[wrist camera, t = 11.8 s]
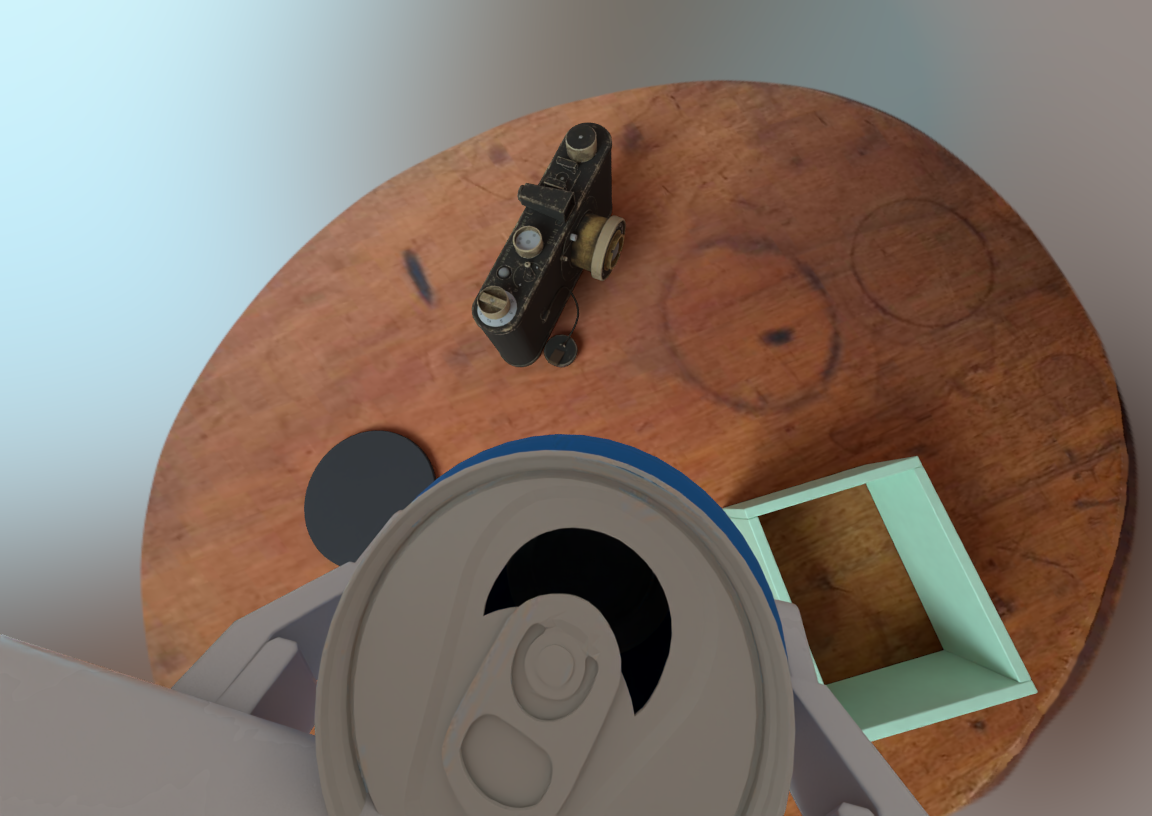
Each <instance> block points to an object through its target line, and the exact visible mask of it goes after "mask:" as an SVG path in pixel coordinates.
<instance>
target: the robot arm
mask: <svg viewBox="0 0 1152 816" xmlns="http://www.w3.org/2000/svg"><path fill="white" fill-rule="evenodd" d="M402 511H403V510H399V511H398V512H396V513H395V514H393V516H392V517H391V518H390V519H389V521H388V522H387V523H386V524H385V526H384V527H383V528H382V529H381V531H380V532H379V533H378V534H377V536H376V537H375V538H374V539H373V541H372V542H371V543H370V545H369V546H368V547H367V548H366V550H365V551H364V552H363V553H362V555H361V556H360V557H359V558H358V560H357V561H356V562H355V563H354V562H347V563H345V564H344V565H342V566H340V567H338V568H336V569H334V570H332V571H330V572H328V573H326V574H324V575H323V576H321V577H319V578H317V579H315V580H313V581H311V582H309V583H307V584H305V585H303V586H301V587H300V588H298V589H296V590H294V591H292V592H290V593H288V594H286V595H284V596H282V597H280V598H279V599H277V600H275V601H273V602H271V603H269V604H267V605H265V606H263V607H261V608H259V609H257V610H256V611H254V612H252V613H250V614H248V615H246V616H244V617H242V618H240V619H238V620H236V621H235V622H234V623H233V624H232V625H231V626H230V627H229V628H228V629H227V630H226V631H225V632H224V633H223V634H222V635H221V636H220V637H219V638H218V639H217V640H216V642H215V643H214V644H213V645H212V646H211V647H210V648H209V649H208V650H207V651H206V652H205V653H204V654H203V655H202V656H201V657H200V658H199V659H198V660H197V661H196V663H195V664H194V665H193V666H192V667H191V668H190V669H189V670H188V671H187V672H186V673H185V674H184V675H183V676H182V677H181V678H180V679H179V680H178V681H177V682H176V684H175V685H174V686H173V687H172V688H171V689H170V688H166V687H163V686H160V685H157V684H154V683H151V682H147V681H145V680H141V679H138V678H135V677H132V676H129V675H126V674H123V673H120V672H116V671H113V670H111V669H107V668H104V667H101V666H98V665H95V664H92V663H89V662H86V661H83V660H79V659H76V658H73V657H70V656H67V655H64V654H61V653H57V652H55V651H52V650H48V649H45V648H42V647H39V646H36V645H33V644H30V643H27V642H23V641H20V640H17V639H14V638H11V637H8V636H5V635H2V634H0V816H329V815H328V812H327V808H326V805H325V801H324V798H323V794H322V789H321V783H320V777H319V771H318V765H317V759H316V743H315V735H312V734H309V733H310V731H311V730H312V728H313V727H314V725H315V723H314V720H315V703H316V687H317V681H316V680H318V675H319V669H320V663H321V657H322V652H323V649H324V645H325V642H326V638H327V635H328V631H329V628H330V624H331V621H332V618H333V616H334V614H335V611H336V609H337V606H338V604H339V601H340V599H341V596H342V594H343V591H344V590H345V588H346V586H347V584H348V582H349V580H350V579H351V577H352V575H353V573H354V571H355V569H356V568H357V566H358V564H359V562H360V561H361V560H362V558H363V557H364V555H365V554H366V552H367V551H368V550H369V548H370V547H371V545H372V544H373V542H374V541H375V540H376V538H377V537H378V536H379V535H380V534H381V533H382V532H383V530H384V529H385V528H386V527H387V526H388V525H389V524H390V523H391V521H392V520H393V519H394V518H395V517H396V516H397V515H398V514H399V513H400V512H402ZM774 600H775V604H776V607H777V610H778V614H779V617H780V620H781V623H782V628H783V634H784V639H785V645H786V651H787V656H788V667H789V673H790V678H791V684H792V690H793V698H794V716H795V747H794V762H793V773H792V778H791V784H790V789H789V791H790V793H791V795H792V796H793V798H794V800H795V802H796V804H797V806H798V808H799V810H800V812H801V813H802V815H803V816H929V815H928V814H927V813H926V811H925V810H924V809H923V807H922V806H921V805H920V804H919V802H918V801H917V800H916V799H915V797H914V796H913V795H912V794H911V792H910V791H909V790H908V788H907V787H906V786H905V785H904V783H903V782H902V781H901V780H900V778H899V777H898V776H897V774H896V773H895V772H894V771H893V769H892V768H891V767H890V766H889V764H888V763H887V762H886V761H885V759H884V758H883V757H882V755H881V754H880V753H879V752H878V750H877V749H876V748H875V747H874V745H873V744H872V743H871V741H870V740H869V739H868V738H867V736H866V735H865V734H864V733H863V731H862V730H861V729H860V728H859V726H858V725H857V724H856V722H855V721H854V720H853V719H852V717H851V716H850V715H849V714H848V712H847V711H846V710H845V708H844V707H843V706H842V705H841V703H840V702H839V701H838V700H837V698H836V697H835V696H834V695H833V693H832V692H831V691H830V689H829V688H828V687H827V686H826V685H823V684H820V683H818V679H817V675H816V671H815V668H814V664H813V660H812V656H811V653H810V649H809V645H808V641H807V638H806V634H805V630H804V626H803V623H802V619H801V615H800V611H799V609H798V607H797V606H796V604H793V603H789V602H785V601H781V600H776V599H774ZM359 816H384V815H381V814H379V813H378V811H377V809H376V807H375V805H374V803H373V801H372V799H371V796H370V794H369V793H366V800H365V805H364V807H363V810H362V812H361V814H360V815H359Z"/></svg>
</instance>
